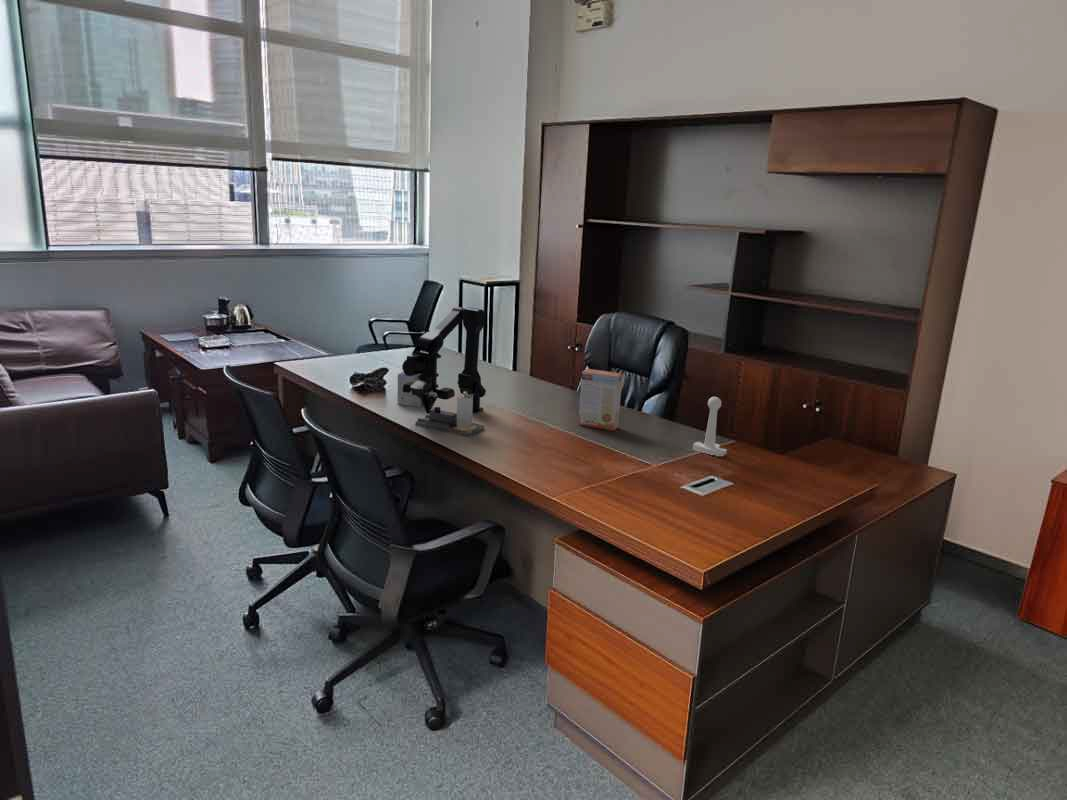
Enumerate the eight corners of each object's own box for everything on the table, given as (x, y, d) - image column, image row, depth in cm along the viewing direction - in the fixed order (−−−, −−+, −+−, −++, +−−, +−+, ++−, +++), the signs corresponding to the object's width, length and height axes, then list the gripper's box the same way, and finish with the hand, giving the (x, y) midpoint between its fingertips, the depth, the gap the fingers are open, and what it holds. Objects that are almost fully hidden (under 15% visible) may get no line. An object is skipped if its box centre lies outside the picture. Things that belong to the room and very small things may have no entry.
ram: (434, 418, 267) (434, 405, 266) (458, 423, 263) (458, 410, 262) (429, 420, 264) (429, 407, 263) (453, 425, 260) (453, 412, 259)
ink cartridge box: (425, 403, 291) (426, 367, 287) (420, 407, 286) (421, 371, 282) (402, 400, 293) (402, 365, 289) (396, 404, 288) (396, 368, 284)
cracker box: (618, 427, 274) (623, 373, 268) (613, 431, 269) (618, 376, 263) (583, 421, 279) (587, 367, 274) (577, 425, 274) (581, 370, 268)
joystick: (690, 450, 253) (697, 394, 247) (701, 445, 258) (708, 390, 253) (720, 459, 246) (727, 401, 241) (730, 453, 252) (737, 397, 246)
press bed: (430, 418, 272) (430, 412, 272) (484, 429, 264) (484, 423, 263) (415, 425, 263) (415, 419, 263) (470, 436, 255) (470, 430, 254)
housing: (458, 423, 263) (459, 389, 259) (472, 424, 263) (473, 390, 259) (456, 427, 258) (457, 393, 255) (470, 428, 258) (471, 394, 255)
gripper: (393, 372, 258) (393, 414, 262) (439, 379, 250) (438, 423, 255) (411, 366, 267) (410, 407, 272) (455, 373, 260) (454, 415, 265)
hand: (428, 413), depth 265 cm, fingers closed
